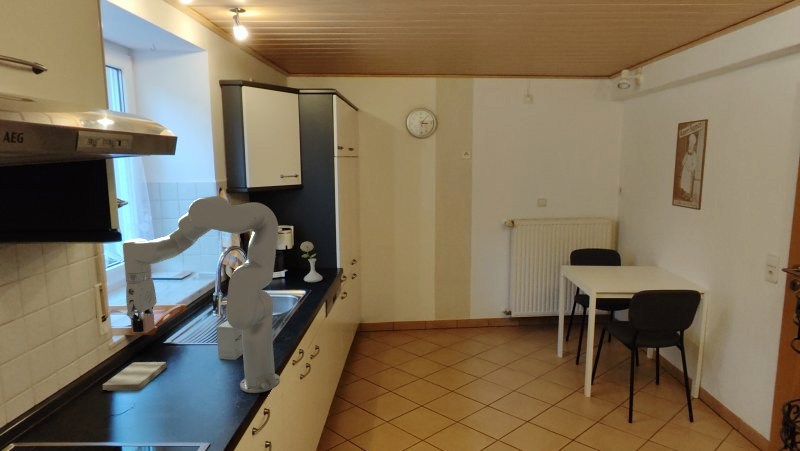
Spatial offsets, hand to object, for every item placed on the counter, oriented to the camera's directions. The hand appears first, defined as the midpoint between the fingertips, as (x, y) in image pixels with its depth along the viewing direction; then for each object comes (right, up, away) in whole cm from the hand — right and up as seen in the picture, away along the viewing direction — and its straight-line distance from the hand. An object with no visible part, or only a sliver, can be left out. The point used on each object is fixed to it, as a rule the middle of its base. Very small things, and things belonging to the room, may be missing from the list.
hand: (143, 328), depth 158 cm
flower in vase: (+33, 0, +130) cm, 134 cm away
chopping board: (-4, -18, +3) cm, 18 cm away
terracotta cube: (0, -1, 0) cm, 1 cm away
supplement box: (+23, -15, +20) cm, 34 cm away
